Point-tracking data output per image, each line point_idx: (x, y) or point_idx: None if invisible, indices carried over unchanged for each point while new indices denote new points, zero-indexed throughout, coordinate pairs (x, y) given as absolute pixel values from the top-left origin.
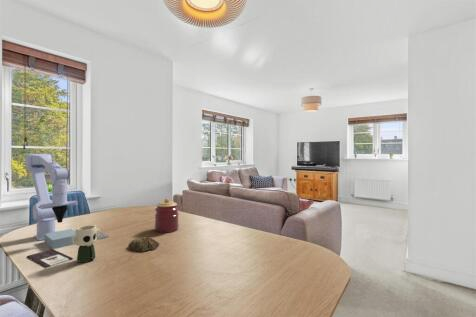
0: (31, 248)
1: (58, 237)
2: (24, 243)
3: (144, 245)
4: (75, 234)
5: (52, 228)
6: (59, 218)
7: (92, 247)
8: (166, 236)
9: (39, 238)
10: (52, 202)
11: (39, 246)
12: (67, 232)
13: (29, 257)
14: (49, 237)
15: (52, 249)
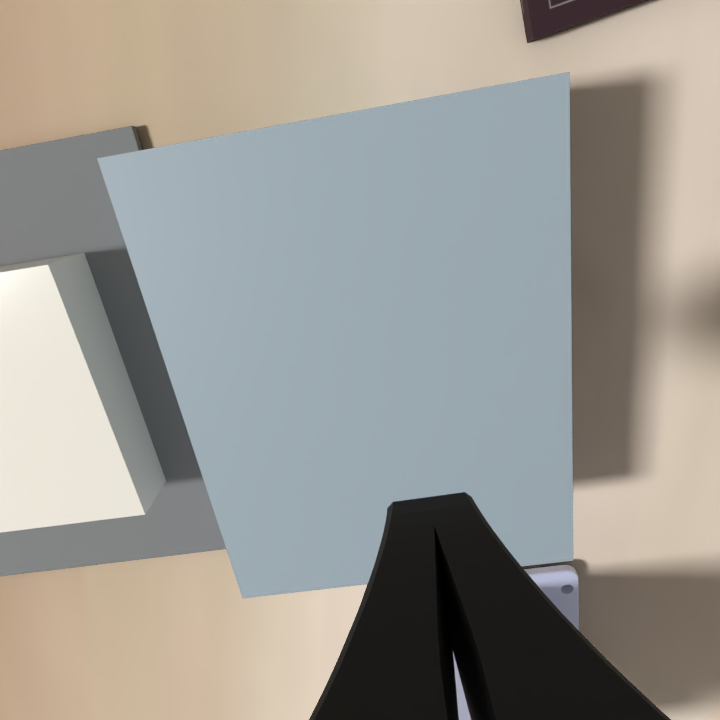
0: (698, 329)
1: (454, 207)
2: (694, 561)
3: None
4: (184, 219)
5: (457, 696)
6: (482, 568)
7: None
8: None
9: (560, 609)
10: None
11: (612, 352)
12: (297, 438)
13: None
14: (566, 313)
15: (538, 9)
